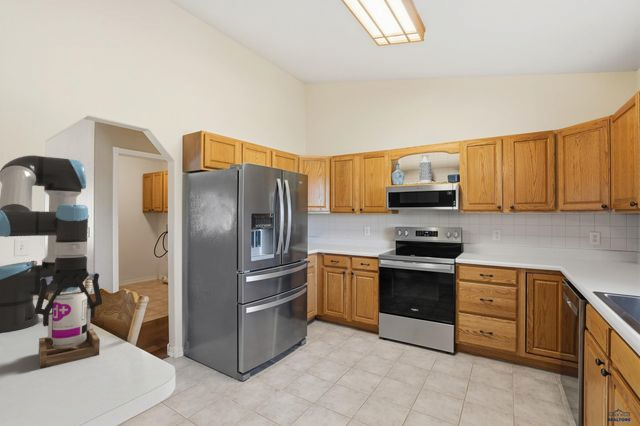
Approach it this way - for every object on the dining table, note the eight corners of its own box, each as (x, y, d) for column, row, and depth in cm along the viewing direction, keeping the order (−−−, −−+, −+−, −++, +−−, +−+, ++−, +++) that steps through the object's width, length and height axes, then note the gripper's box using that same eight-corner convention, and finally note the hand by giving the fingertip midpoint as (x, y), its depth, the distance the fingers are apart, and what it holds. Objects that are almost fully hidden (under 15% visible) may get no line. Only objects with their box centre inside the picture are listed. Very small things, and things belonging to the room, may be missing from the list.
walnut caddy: (38, 353, 93) (39, 338, 93) (92, 342, 102) (92, 328, 102) (40, 368, 83) (40, 351, 84) (99, 354, 92) (99, 339, 92)
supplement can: (66, 350, 88) (68, 297, 88) (43, 348, 90) (44, 295, 90) (93, 340, 96) (94, 290, 96) (71, 338, 98) (72, 289, 98)
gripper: (23, 260, 84) (20, 346, 83) (115, 254, 98) (113, 327, 97) (23, 257, 89) (20, 338, 88) (110, 252, 103) (108, 322, 103)
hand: (69, 332), depth 93 cm, fingers closed on supplement can, 8 cm apart
